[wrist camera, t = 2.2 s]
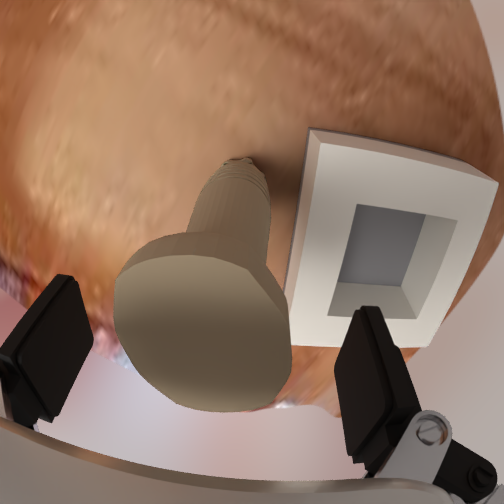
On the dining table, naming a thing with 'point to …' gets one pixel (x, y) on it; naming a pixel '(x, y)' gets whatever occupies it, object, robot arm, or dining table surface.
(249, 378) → the handle
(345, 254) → the socket stand
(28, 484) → the robot arm
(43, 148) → the dining table surface
